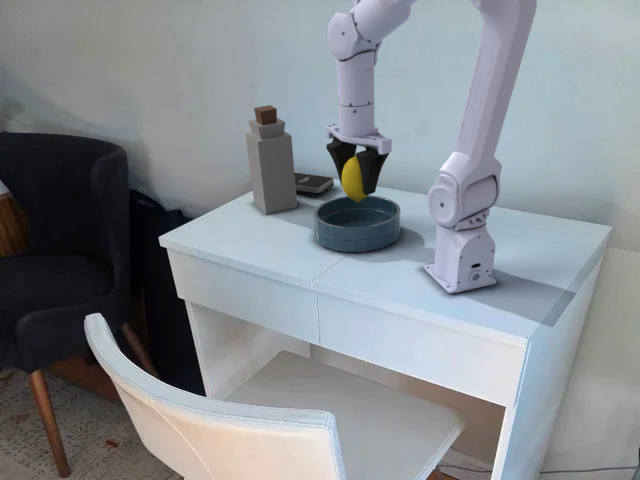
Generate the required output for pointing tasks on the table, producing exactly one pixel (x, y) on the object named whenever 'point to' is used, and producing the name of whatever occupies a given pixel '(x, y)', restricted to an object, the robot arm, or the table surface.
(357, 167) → the lemon
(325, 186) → the external hard drive
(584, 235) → the table surface
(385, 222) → the bowl
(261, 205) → the perfume bottle
